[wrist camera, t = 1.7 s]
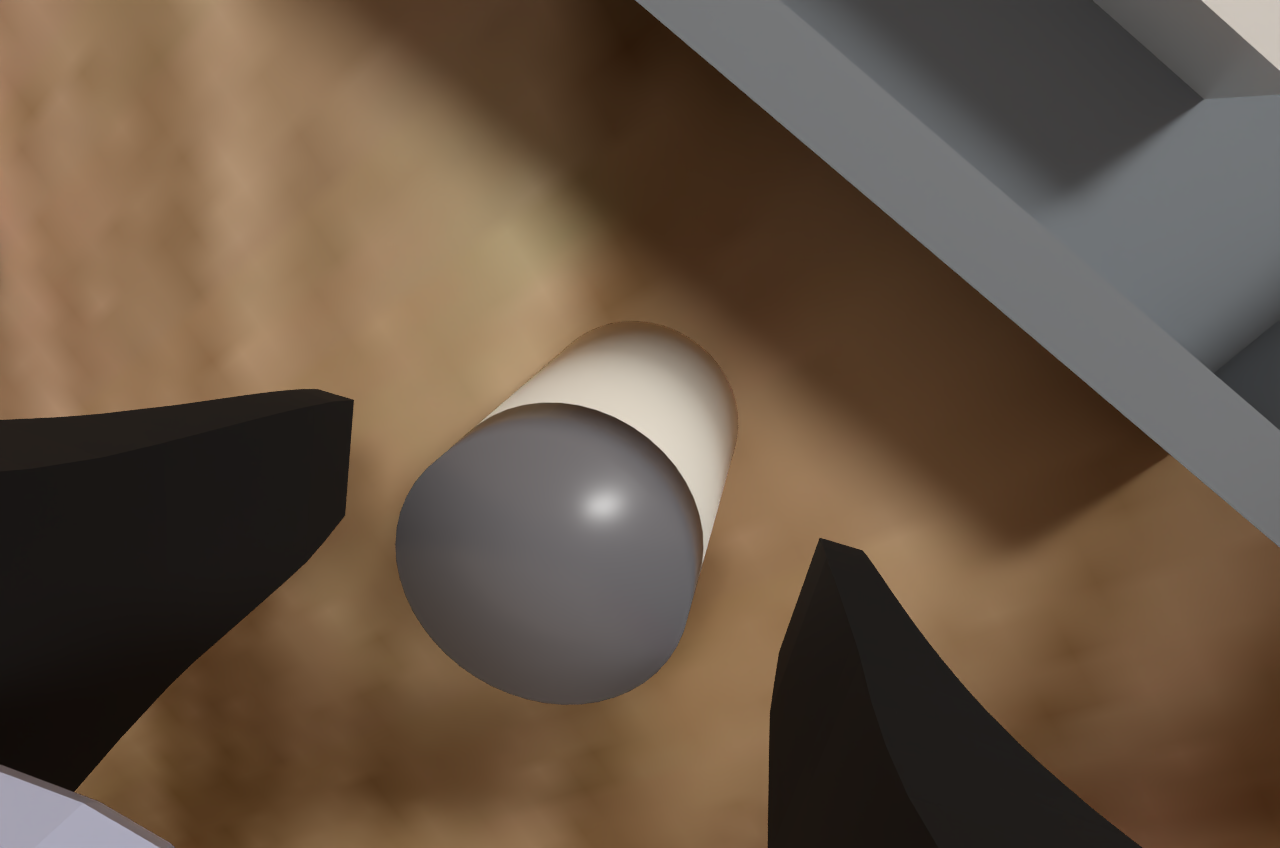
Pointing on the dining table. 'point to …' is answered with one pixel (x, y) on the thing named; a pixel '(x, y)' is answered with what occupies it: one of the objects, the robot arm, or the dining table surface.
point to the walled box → (1053, 193)
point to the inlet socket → (1209, 41)
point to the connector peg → (575, 518)
